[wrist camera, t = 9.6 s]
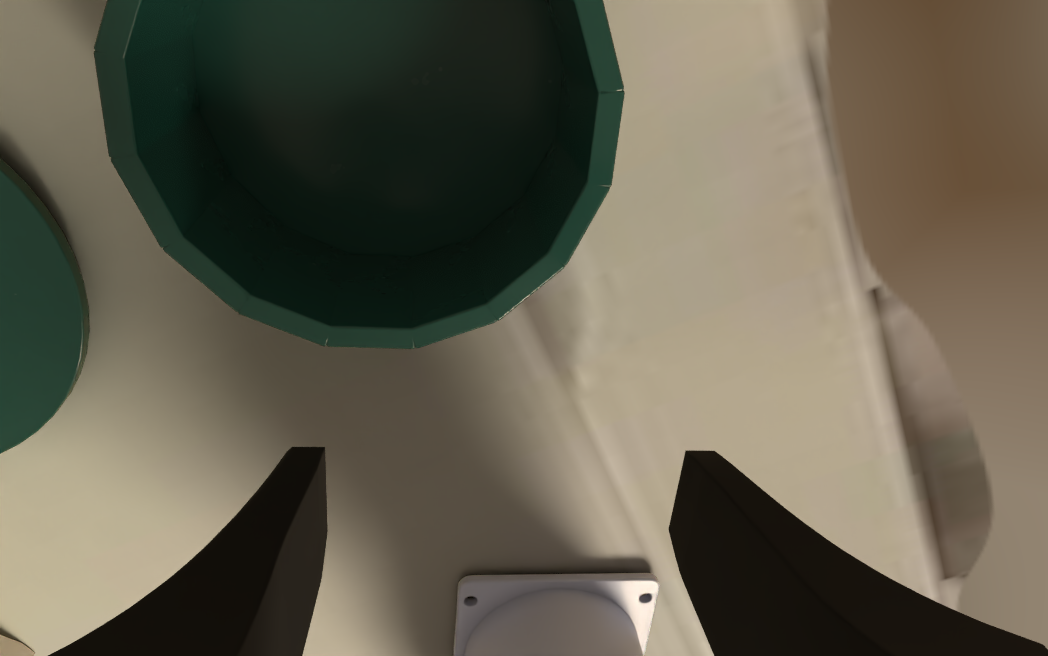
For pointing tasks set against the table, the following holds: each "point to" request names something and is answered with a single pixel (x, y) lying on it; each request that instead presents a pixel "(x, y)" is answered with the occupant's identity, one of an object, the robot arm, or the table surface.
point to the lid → (36, 313)
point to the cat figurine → (13, 648)
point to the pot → (363, 152)
